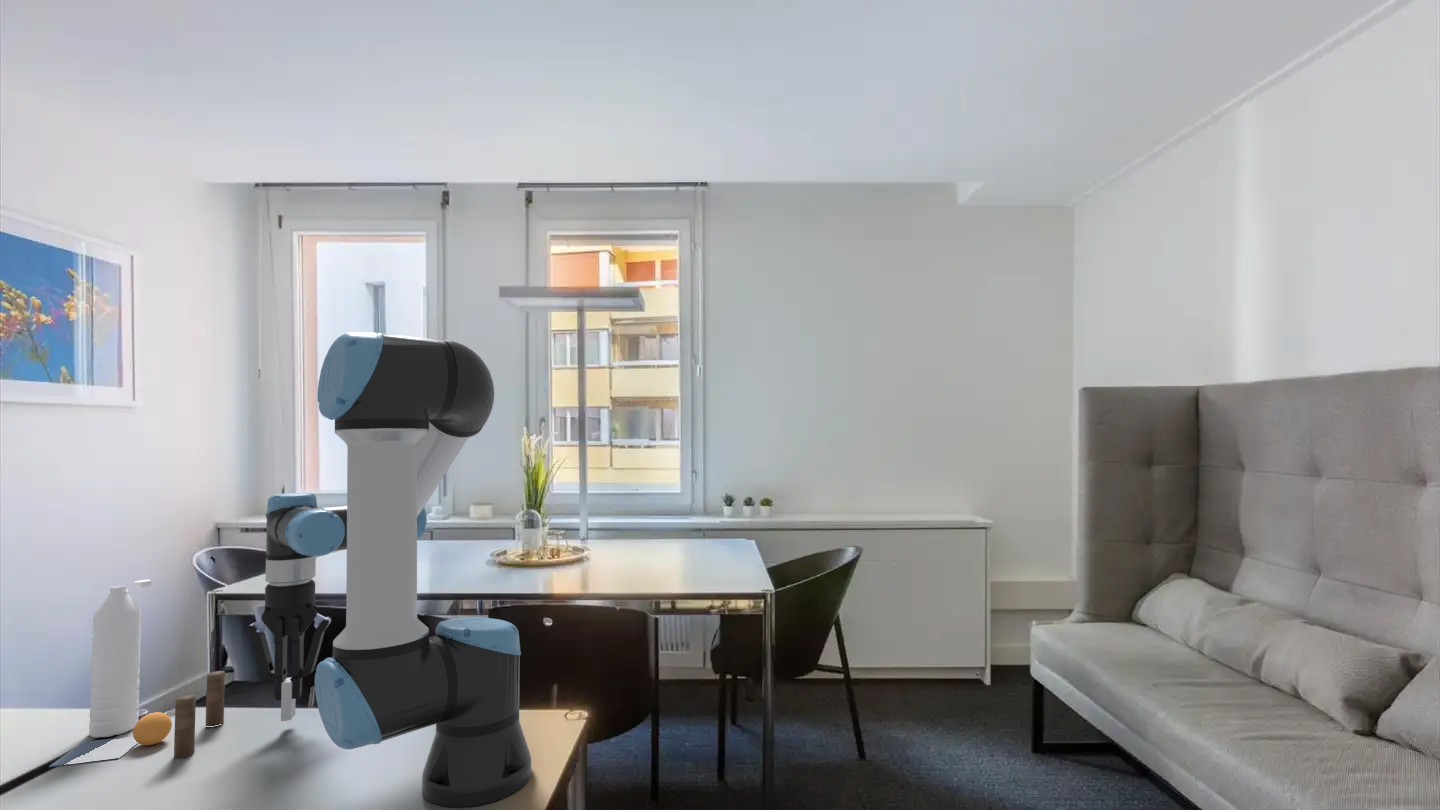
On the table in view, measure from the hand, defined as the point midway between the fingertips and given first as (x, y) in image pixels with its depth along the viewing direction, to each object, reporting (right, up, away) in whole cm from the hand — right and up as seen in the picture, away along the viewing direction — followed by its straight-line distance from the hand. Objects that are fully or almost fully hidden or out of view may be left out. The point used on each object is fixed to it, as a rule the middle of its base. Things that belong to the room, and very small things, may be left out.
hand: (288, 717), depth 120 cm
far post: (-14, -2, +2) cm, 14 cm away
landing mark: (-26, -2, -8) cm, 27 cm away
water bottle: (-30, -3, +1) cm, 30 cm away
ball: (-19, +1, -5) cm, 20 cm away
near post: (-11, -2, -10) cm, 14 cm away
